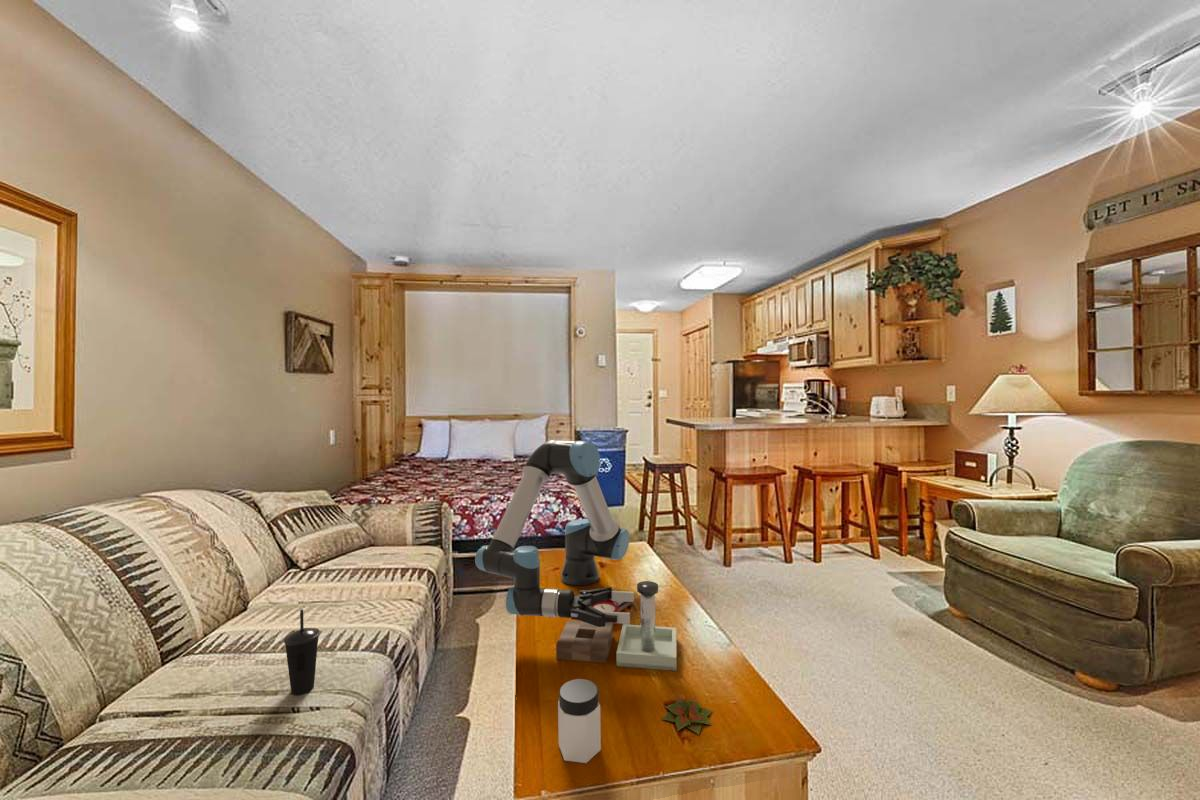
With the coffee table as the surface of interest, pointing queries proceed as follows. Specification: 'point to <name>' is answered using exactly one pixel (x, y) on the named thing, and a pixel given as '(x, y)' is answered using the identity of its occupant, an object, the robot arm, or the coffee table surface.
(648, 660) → the sage tray
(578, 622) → the brown square frame
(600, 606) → the alarm clock
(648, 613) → the steel pin
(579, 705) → the jar
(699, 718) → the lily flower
